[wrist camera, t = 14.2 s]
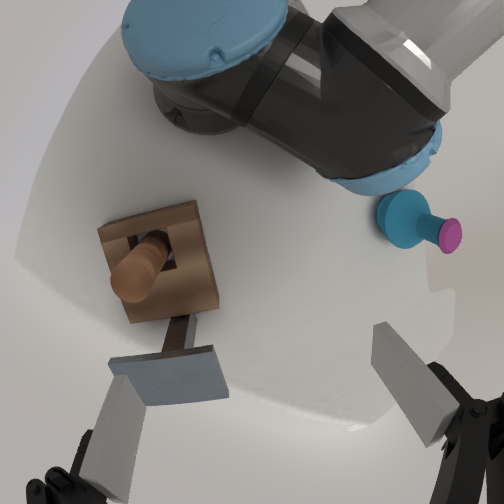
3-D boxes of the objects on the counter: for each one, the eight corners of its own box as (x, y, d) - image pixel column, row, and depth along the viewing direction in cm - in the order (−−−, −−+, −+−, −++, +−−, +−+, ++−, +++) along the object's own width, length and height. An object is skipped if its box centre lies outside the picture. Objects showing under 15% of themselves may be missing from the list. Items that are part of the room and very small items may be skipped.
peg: (140, 233, 39) (104, 267, 26) (168, 227, 39) (142, 259, 26) (148, 261, 40) (118, 305, 27) (175, 255, 40) (155, 299, 27)
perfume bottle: (418, 194, 41) (480, 211, 27) (405, 245, 44) (461, 276, 30) (377, 179, 40) (440, 190, 26) (363, 234, 42) (419, 267, 28)
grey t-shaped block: (142, 295, 42) (107, 364, 25) (215, 281, 42) (212, 351, 26) (156, 331, 44) (133, 406, 28) (225, 320, 44) (229, 397, 28)
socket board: (107, 222, 38) (97, 229, 34) (195, 200, 38) (192, 204, 34) (137, 311, 42) (130, 323, 39) (219, 295, 43) (218, 308, 39)
